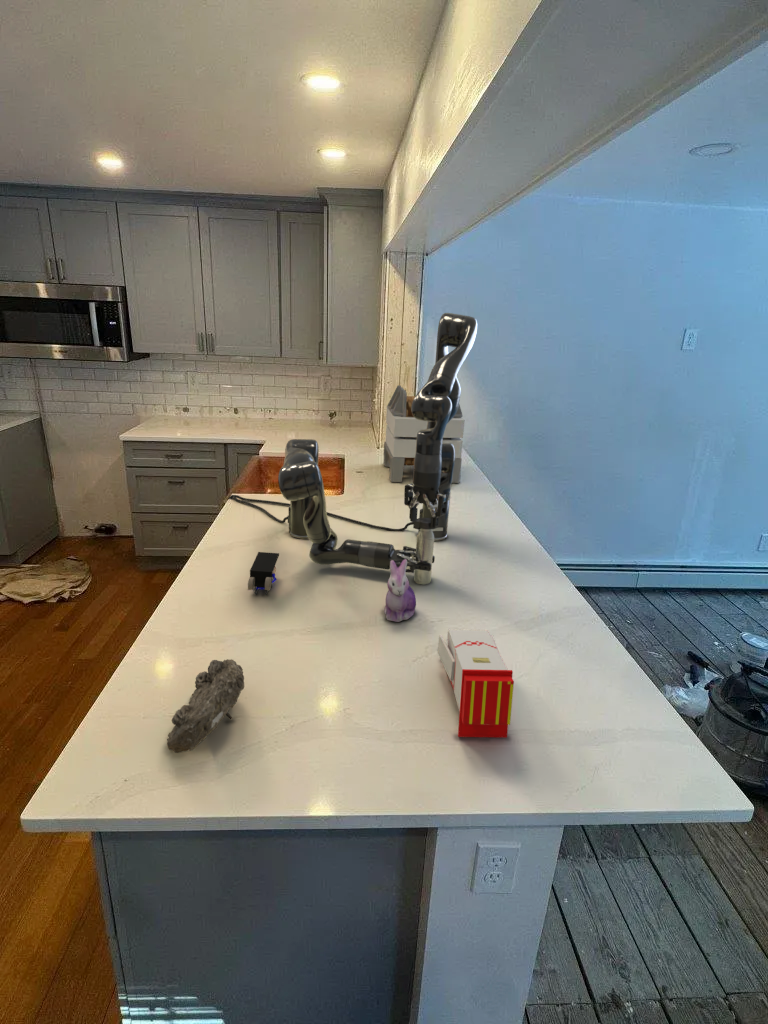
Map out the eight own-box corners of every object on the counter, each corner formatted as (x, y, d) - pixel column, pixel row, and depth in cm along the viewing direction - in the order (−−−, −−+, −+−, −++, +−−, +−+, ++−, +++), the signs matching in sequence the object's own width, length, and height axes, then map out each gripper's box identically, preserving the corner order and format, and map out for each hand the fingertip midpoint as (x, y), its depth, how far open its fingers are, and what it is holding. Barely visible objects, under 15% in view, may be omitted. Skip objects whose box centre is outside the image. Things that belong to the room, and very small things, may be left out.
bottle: (413, 583, 164) (417, 524, 158) (414, 576, 169) (418, 518, 162) (430, 585, 164) (435, 525, 158) (430, 577, 168) (435, 519, 162)
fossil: (192, 660, 117) (244, 628, 112) (224, 691, 120) (276, 661, 115) (142, 746, 98) (202, 712, 93) (182, 779, 101) (242, 748, 96)
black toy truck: (272, 602, 153) (280, 572, 166) (271, 579, 149) (279, 550, 163) (247, 602, 152) (257, 572, 166) (245, 578, 149) (256, 549, 162)
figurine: (392, 627, 141) (395, 572, 136) (374, 608, 149) (376, 556, 144) (425, 619, 145) (429, 566, 140) (405, 601, 154) (408, 550, 149)
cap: (435, 529, 159) (436, 523, 158) (419, 529, 158) (420, 523, 157) (432, 523, 163) (433, 517, 162) (417, 523, 162) (417, 517, 162)
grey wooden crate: (382, 463, 289) (386, 382, 275) (445, 464, 293) (451, 384, 279) (390, 482, 257) (394, 392, 243) (460, 483, 261) (468, 394, 247)
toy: (488, 613, 130) (523, 677, 101) (484, 667, 133) (517, 744, 104) (435, 612, 130) (455, 676, 101) (432, 666, 133) (451, 743, 103)
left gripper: (369, 552, 160) (429, 561, 156) (382, 534, 173) (437, 542, 169) (368, 576, 162) (427, 585, 158) (381, 557, 175) (436, 565, 171)
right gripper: (456, 471, 153) (451, 528, 158) (416, 460, 162) (413, 515, 168) (439, 476, 148) (434, 535, 153) (398, 464, 157) (395, 520, 162)
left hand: (432, 563), depth 164 cm, fingers closed on bottle, 5 cm apart
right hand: (423, 524), depth 160 cm, fingers open, 7 cm apart
